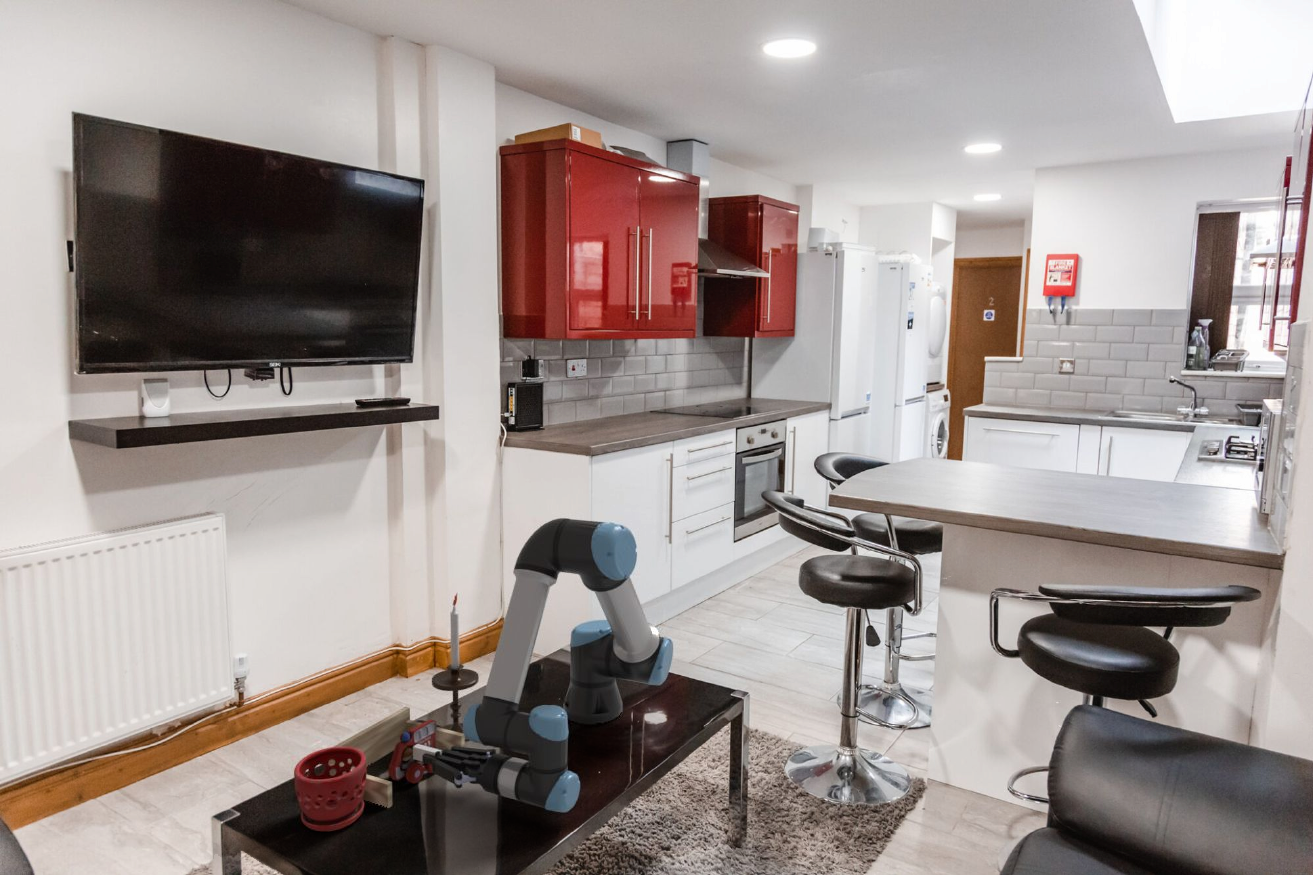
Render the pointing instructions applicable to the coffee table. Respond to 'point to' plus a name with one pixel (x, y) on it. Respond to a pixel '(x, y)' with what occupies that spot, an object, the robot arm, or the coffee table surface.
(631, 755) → the coffee table surface
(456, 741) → the box
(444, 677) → the candlestick
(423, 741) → the toy fire truck
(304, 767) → the plant pot
